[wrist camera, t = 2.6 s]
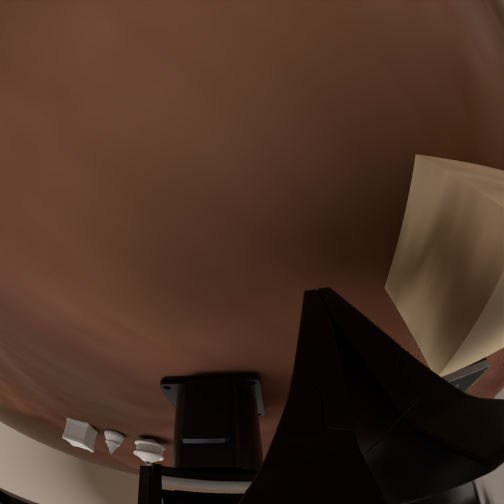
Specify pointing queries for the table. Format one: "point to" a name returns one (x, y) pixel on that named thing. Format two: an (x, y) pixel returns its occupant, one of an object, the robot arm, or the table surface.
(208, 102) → the table surface
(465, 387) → the external hard drive
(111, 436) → the toy set
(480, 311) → the block
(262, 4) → the table surface
